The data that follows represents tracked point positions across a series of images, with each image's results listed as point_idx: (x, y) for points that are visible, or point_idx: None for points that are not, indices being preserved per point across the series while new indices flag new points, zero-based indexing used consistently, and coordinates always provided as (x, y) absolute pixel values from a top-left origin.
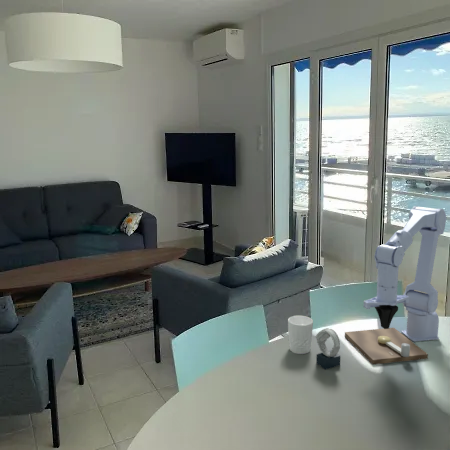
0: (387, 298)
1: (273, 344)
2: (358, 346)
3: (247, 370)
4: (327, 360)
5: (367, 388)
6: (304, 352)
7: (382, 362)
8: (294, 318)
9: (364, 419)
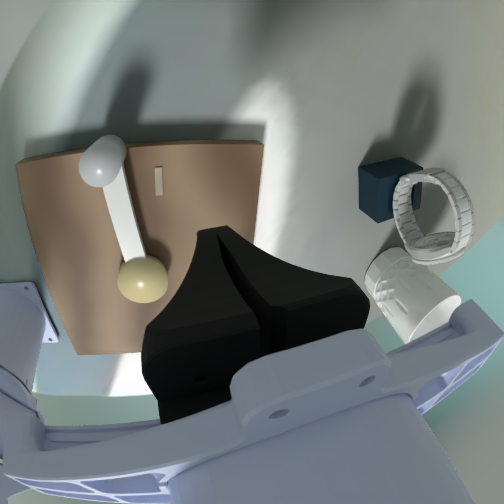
0: (423, 446)
1: None
2: None
3: (485, 203)
4: (415, 167)
5: (360, 19)
6: (395, 249)
7: (217, 140)
8: None
9: None
